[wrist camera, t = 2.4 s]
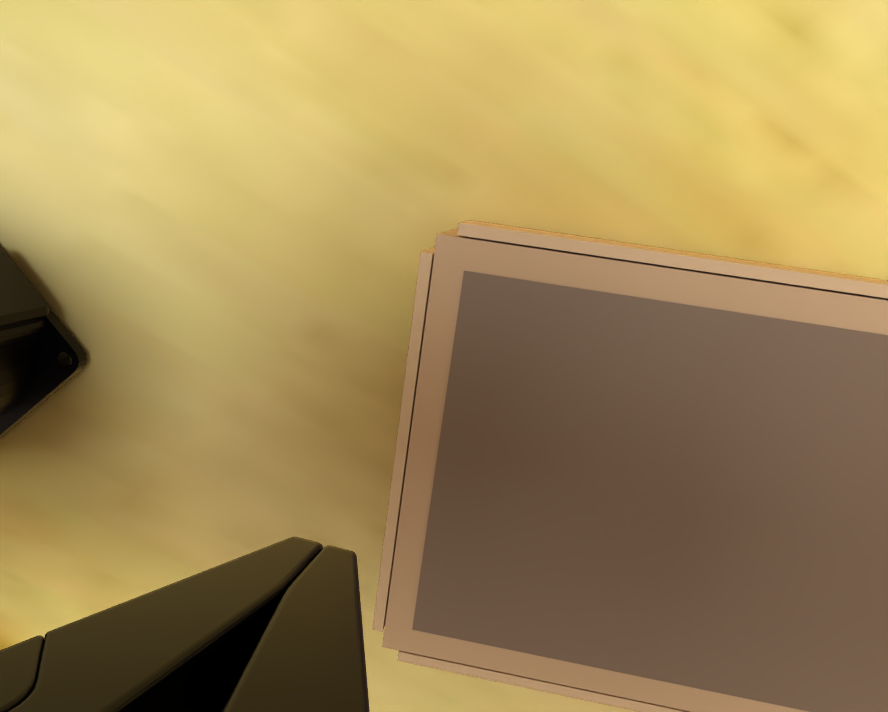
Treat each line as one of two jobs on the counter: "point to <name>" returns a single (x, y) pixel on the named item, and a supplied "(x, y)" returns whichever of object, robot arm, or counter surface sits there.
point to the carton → (641, 476)
